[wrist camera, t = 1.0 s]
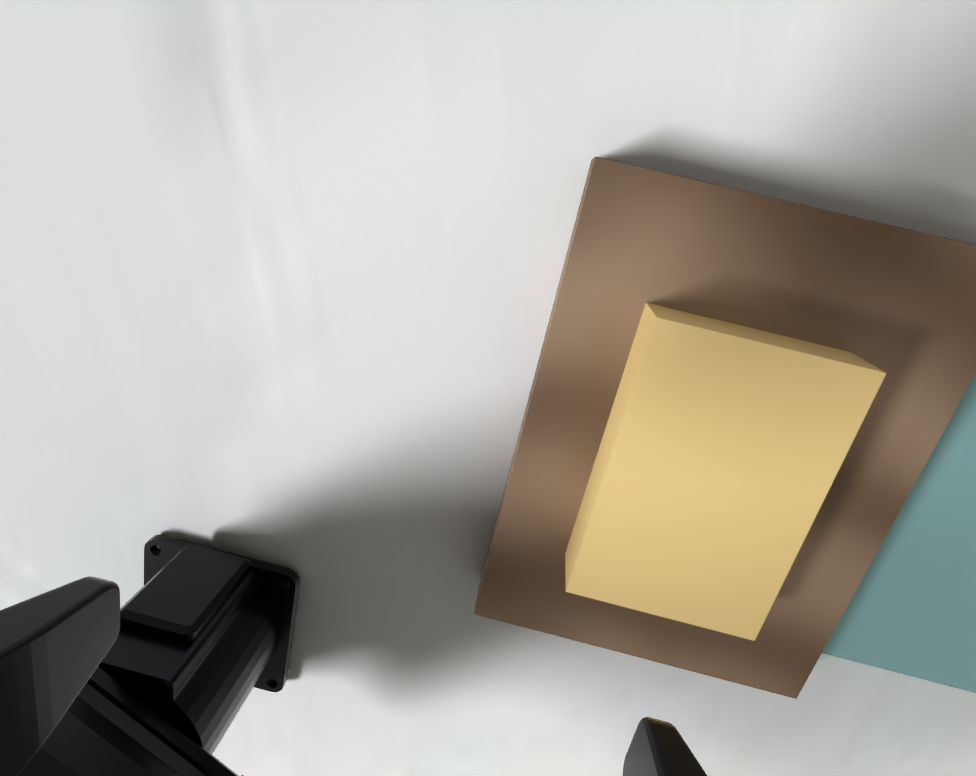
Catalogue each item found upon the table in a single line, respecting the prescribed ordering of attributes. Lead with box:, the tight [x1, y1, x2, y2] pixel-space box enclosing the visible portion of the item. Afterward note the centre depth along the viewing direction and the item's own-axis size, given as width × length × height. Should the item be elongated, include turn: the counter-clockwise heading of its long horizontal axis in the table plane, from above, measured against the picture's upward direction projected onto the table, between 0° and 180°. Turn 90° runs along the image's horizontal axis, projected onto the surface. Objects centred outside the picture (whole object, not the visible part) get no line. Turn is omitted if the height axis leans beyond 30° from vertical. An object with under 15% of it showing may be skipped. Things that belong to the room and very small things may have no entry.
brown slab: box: [474, 157, 976, 698], centre depth 19 cm, size 16×12×2 cm
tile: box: [565, 303, 886, 641], centre depth 17 cm, size 9×6×2 cm, turn 168°
